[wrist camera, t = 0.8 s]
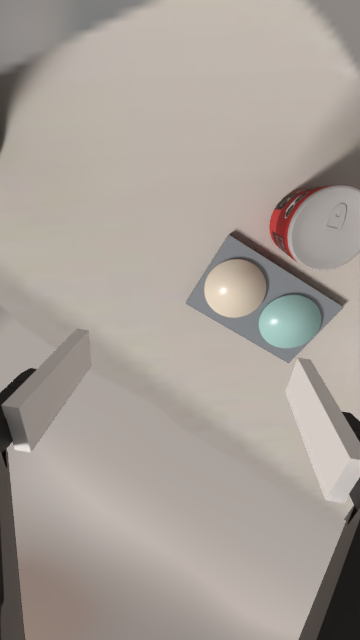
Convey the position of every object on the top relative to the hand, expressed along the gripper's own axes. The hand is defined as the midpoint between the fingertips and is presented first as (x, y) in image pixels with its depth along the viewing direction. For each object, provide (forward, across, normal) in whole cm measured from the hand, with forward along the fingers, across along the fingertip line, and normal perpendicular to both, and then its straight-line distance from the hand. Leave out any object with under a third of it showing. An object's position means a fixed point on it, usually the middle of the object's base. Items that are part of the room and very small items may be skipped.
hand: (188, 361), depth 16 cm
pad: (+24, +14, -7) cm, 29 cm away
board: (+25, +10, -5) cm, 27 cm away
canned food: (+25, +12, +7) cm, 29 cm away
